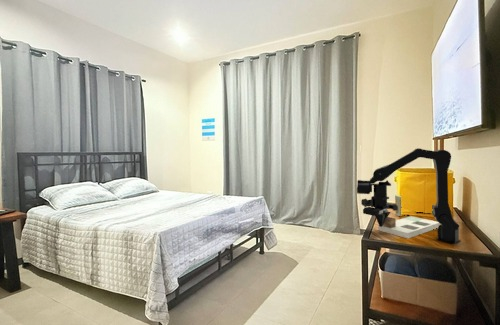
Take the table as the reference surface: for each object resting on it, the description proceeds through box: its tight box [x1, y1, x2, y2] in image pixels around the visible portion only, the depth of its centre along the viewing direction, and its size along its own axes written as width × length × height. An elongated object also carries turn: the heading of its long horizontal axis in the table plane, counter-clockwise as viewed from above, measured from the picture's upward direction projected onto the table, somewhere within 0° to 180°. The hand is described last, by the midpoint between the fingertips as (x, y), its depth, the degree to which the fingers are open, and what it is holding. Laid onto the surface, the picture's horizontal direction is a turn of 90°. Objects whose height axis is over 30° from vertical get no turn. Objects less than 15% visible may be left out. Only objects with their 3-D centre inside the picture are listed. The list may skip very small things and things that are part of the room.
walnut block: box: [383, 216, 397, 228], centre depth 125 cm, size 4×4×4 cm
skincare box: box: [394, 194, 402, 217], centre depth 151 cm, size 6×4×12 cm
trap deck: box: [377, 215, 441, 239], centre depth 128 cm, size 14×28×2 cm, turn 119°
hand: (380, 226), depth 123 cm, fingers closed
